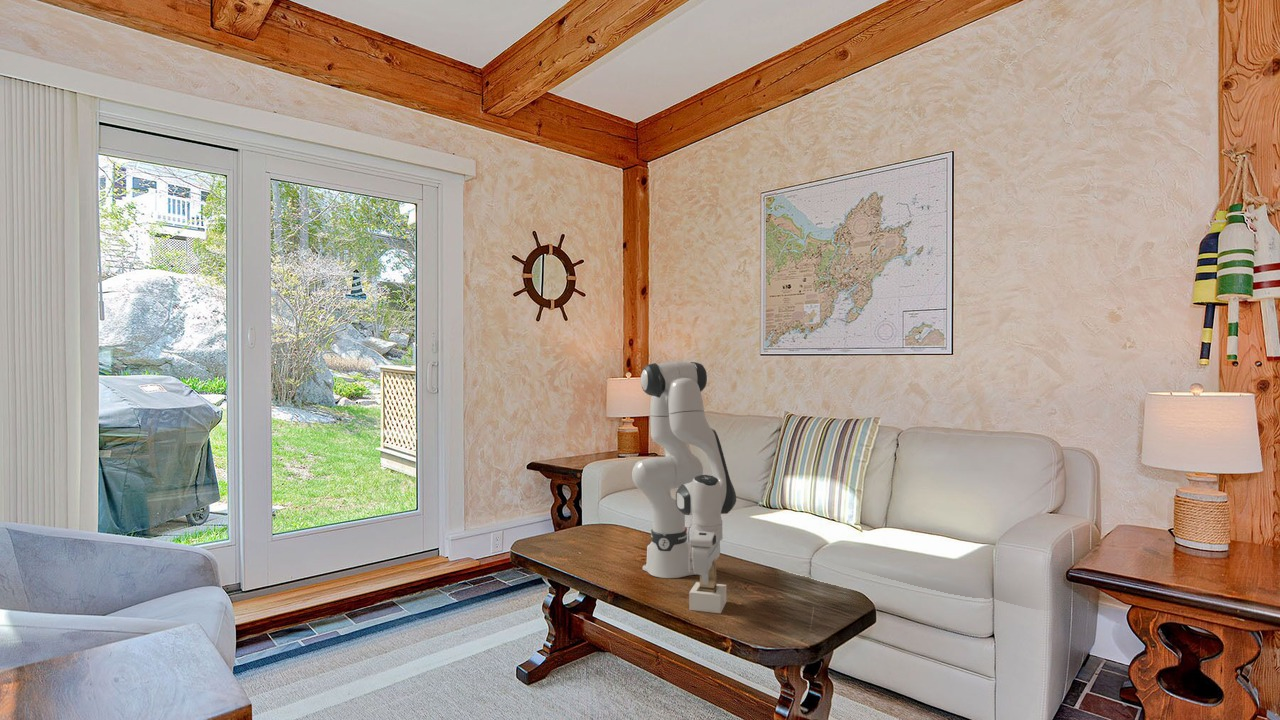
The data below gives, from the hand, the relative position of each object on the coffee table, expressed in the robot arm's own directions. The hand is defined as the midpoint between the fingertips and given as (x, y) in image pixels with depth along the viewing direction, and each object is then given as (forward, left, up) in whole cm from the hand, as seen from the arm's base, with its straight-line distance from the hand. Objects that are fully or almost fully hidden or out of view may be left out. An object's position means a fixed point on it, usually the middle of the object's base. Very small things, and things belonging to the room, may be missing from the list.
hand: (707, 580), depth 184 cm
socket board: (0, 0, -7) cm, 7 cm away
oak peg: (0, 0, -6) cm, 6 cm away
